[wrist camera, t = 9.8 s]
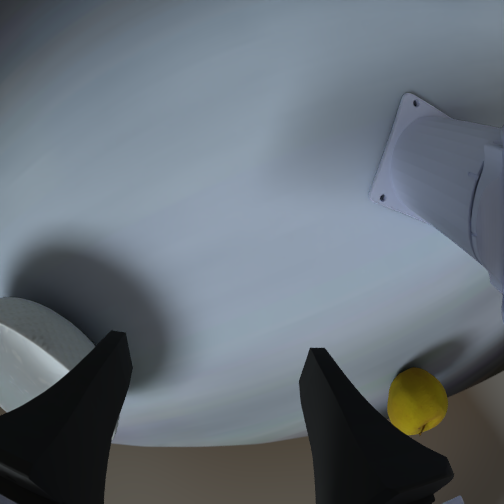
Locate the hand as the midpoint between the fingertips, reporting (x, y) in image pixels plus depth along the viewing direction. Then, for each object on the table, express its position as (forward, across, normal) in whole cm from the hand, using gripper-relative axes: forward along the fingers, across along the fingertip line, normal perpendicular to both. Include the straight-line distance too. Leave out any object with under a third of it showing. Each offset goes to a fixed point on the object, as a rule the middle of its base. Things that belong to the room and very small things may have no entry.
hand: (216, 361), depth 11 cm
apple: (+11, -20, +14) cm, 26 cm away
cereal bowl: (+11, +16, +12) cm, 23 cm away
